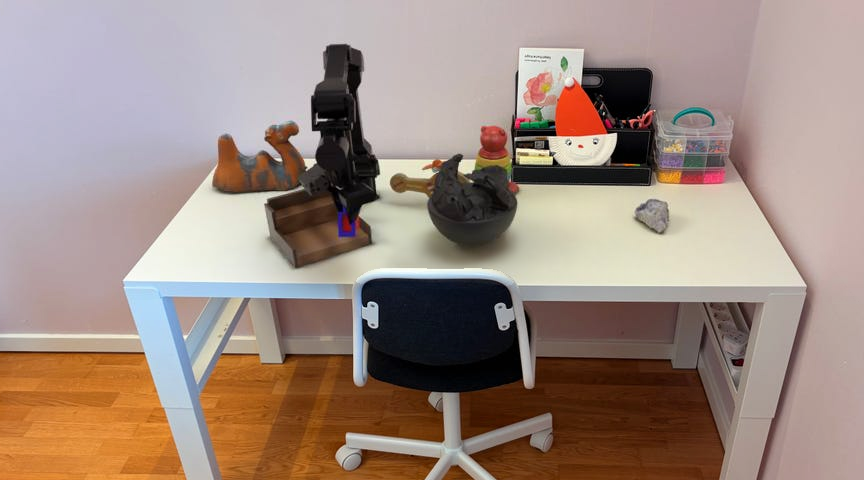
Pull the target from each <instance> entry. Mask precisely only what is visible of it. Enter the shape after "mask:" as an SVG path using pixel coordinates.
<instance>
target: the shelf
mask: <svg viewBox="0 0 864 480" xmlns="http://www.w3.org/2000/svg"><path fill="white" fill-rule="evenodd" d="M263 205H264V206H263V207H264V211H265V217H266V222H267V227H268V233H269V237H270V239H271V241H272V242H273V243H274V244H275V245H276V247H277V248H278V249H279V251H280V252H282V254H283V255H284V256H285V258H287V260H288V261H289V262H290V263H291V264H292V266H293V267H294V268H295V269H297V268H299V267H303V266H306V265H309V264H312V263H316V262H319V261H321V260H325V259H328V258H331V257H334V256H338V255H341V254H344V253H347V252H350V251H354V250H357V249H360V248H362V247H366V246H369V245H372V244H373V237H372V228H371V225H370V224H369V223H367V221H365V220H364V219H363V218H362V217H361V216H359V228H356V237H338V211H337V209H336V206H335V204H334V202H333V199H332V197H331V195H330V193H329V191H327V190H324V191H323V192H321V193H318V194H317V195H315V196H311V195H310V194H309V193H308V192H307V191H306V190H305V189H304V188H302V189H298V190H295V191H291V192H287V193H284V194H279V195H276V196H272V197H268V198H266V202H265V203H263Z"/></svg>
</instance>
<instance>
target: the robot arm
mask: <svg viewBox="0 0 864 480" xmlns="http://www.w3.org/2000/svg"><path fill="white" fill-rule="evenodd" d="M322 62H323V70H324V75H323V79H322V81H320V82H318V83H317V84H316V85H315V87H314V91H313V94H311V96H310V120H311V123H310V124H311V132H319V135H320V137H319V140H318V144H317V146H316V147H317V148H316V151H315V154H314V159H315V163H314V164H313V165H312V166H311V167H310V168H307V169H306V171H305V172H304V173H302V174H301V175H299V177H298V179H299V181H300V182H301V183H300V184H301V185H302V188H303V189H305V190H306V191H307V192H308V193H309V194H310V195H311V196H315V195H317V194H318V193H321V192H323V191H324V190H327V191H329V193H330V195H331V197H332V199H333V202H334V204H335V206H336V209H337V211H338V212H343V206H344V208H345V211H346V215H347V218H348V221H349V224H350V225H351V223H352V222H353V221H354V220H355V221H356V219H357V217H358V215H359V216H360V212H361V210H362V207H363V205H367V204H371V203H373V202H375V201H376V200H378V199H380V197H381V196H380V195H379V194H378V192H377V183H376V179H377V178H378V176H380V175H381V167H380V163H379V160H378V158H377V155H376V154H374V153H373V147H372V144H371V143H370V142H369V141H368V140H367V138H365V134H364V125H363V119H362V111H361V105H360V97H359V96H360V95H359V87H360V85H361V84H362V79H363V72H365V59H364V55H363V52H362V50H360V49H358V48H354V47H352V46H351V44H348V43H331V44H328V45H326V46H325V50H324V51H323V52H322Z"/></svg>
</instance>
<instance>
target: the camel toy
mask: <svg viewBox="0 0 864 480" xmlns="http://www.w3.org/2000/svg"><path fill="white" fill-rule="evenodd" d="M299 133H300V128H299V125H298V124H297V123H296V122H295V121H293V120H288V121H285V122H283V123H281V124H271V125H269V126H268V127H267V128H266V129H265V131H264V138H263V140H264V142H266V143H268V144H269V145H270V146H271V147H272V148H273V150H274V151H276V152H277V154H279V155H280V158H281V161H279V160H277V159H275V157H273V156H272V155H271V154H270V153H269V152H268V151H266V150H264V149H262V150H259V151H258V153H256V154H255V155H249V156H248V155H245V154H242V153H241V152H240V150H239V149H238V147H237V145H236V142H235V140H234V138H233V136H232V135H231V134H229V133H222V134H220V136H219V137H218V139H217V153H218V154H217V155H218V162H217V165H216V168H215V169H214V173H213V176H212V183H211V186H212V188H216V189H218V190H221V191H224V192H226V191H227V192H234V193H238V194H245V193H252V192H261V191H271V190H274V191H282V192H285V191H288V190H291V189H293V188H295V187H297V186H298V185H300V184H301V182H300V181H299V179H298V177H299V175H301V174H302V173H304V172H305V171H307V170H308V169H309V166H307V165H306V163H305V160H304V158H303V156H302V154H301V153H300V152H299V150H298V149H297V148H296V147H295V146H294V145H293V143H292V142H291V141H290V138H291V137H295V136H297V135H298V134H299Z"/></svg>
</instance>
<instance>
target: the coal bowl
mask: <svg viewBox="0 0 864 480" xmlns="http://www.w3.org/2000/svg"><path fill="white" fill-rule="evenodd" d="M463 158H464V155H463V154H462V153H457V154H454V155H453V156H452V157H450V158H448V159H447V160H444V161H445V162H443V161H442V162H443V163H442V164H441V166H440V169H441V171H440V172H439V171H438V172H439V173H438V172H437V173H438V174H437V176H436V178H435V183H434V190H433V193H432V195H431V196H430V198H428V199H427V202H426V203H427V211H428V215H429V218H430V220H431V222H432V224H433V226H434V228H435V229H436V230H437V231H438V232H439V234H441V236H442V237H444V238H446V239H447V240H448V241H450V242H452V243H455V244H457V245H460V246H463V247H480V246H485V245H488V244H490V243H493V242H494V241H497V240H498V239H500V238H501V237H502V236H503V235H504V234H505V233H506V232H507V231H508V229H509V228H510V227H511V225H512V224H513V222H514V220H515V217H516V214H517V211H518V199H517V198H518V197H517V196H516V193H515V194H514V192H513V191H511V190H510V189H509V188H508V181H507V169H505V168H504V167H501V166H498V165H495V166H494V165H491V166H486V167H482V169H481V170H475V169H472V170H471V171H472V172H471V173H470V172H467V173H463V174H464V176H465V177H466V178H468V179H469V180H470V182H469V183H460V182H459V181H458V171H459V166H460V163H461V162H462V160H464V159H463Z"/></svg>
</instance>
